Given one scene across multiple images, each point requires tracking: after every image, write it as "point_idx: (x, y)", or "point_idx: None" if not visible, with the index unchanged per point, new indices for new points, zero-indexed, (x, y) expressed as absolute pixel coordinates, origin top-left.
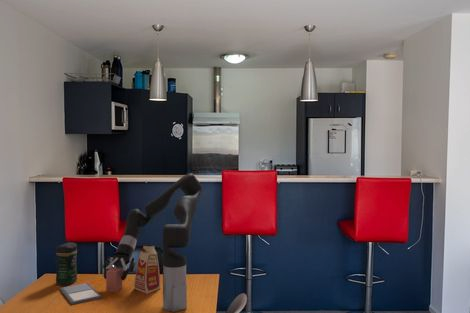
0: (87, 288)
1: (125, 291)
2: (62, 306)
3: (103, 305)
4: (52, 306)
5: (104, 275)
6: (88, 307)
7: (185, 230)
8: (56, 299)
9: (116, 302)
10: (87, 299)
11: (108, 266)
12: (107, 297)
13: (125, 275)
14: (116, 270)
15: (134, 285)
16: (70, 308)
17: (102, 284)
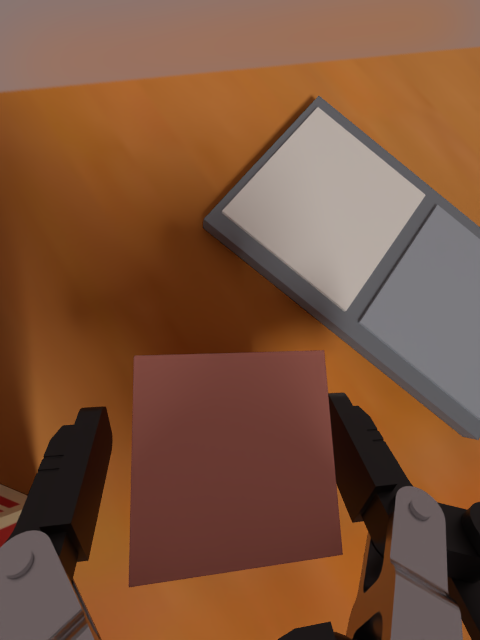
0: (391, 320)
1: None
2: (342, 83)
3: (116, 124)
4: (388, 78)
5: (347, 402)
6: (193, 87)
7: None
8: (442, 162)
9: (49, 183)
10: (262, 157)
11: (423, 546)
12: (170, 252)
13: (41, 467)
14: (180, 436)
15: (16, 510)
16: (283, 65)
17: None
